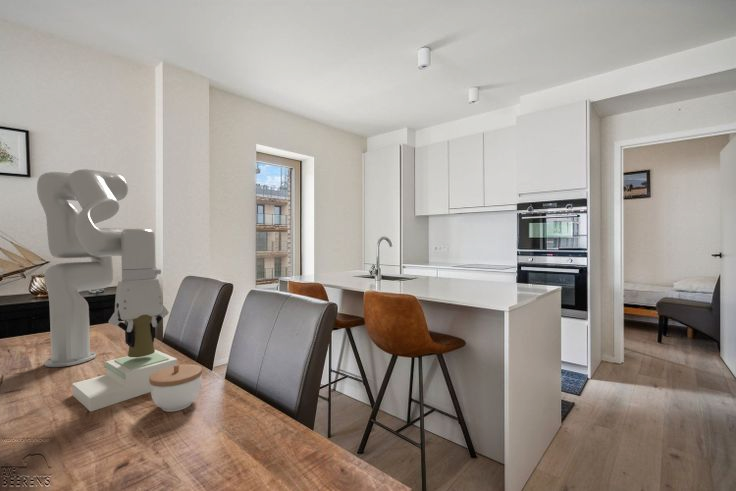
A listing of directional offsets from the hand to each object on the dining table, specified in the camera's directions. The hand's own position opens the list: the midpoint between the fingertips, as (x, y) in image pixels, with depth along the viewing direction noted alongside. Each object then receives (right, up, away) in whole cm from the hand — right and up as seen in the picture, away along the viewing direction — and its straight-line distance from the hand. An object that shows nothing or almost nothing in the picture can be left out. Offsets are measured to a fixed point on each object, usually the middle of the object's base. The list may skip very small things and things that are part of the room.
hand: (140, 343), depth 93 cm
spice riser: (-2, -11, -2) cm, 11 cm away
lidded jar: (+16, -11, -12) cm, 23 cm away
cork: (0, -3, 0) cm, 3 cm away
